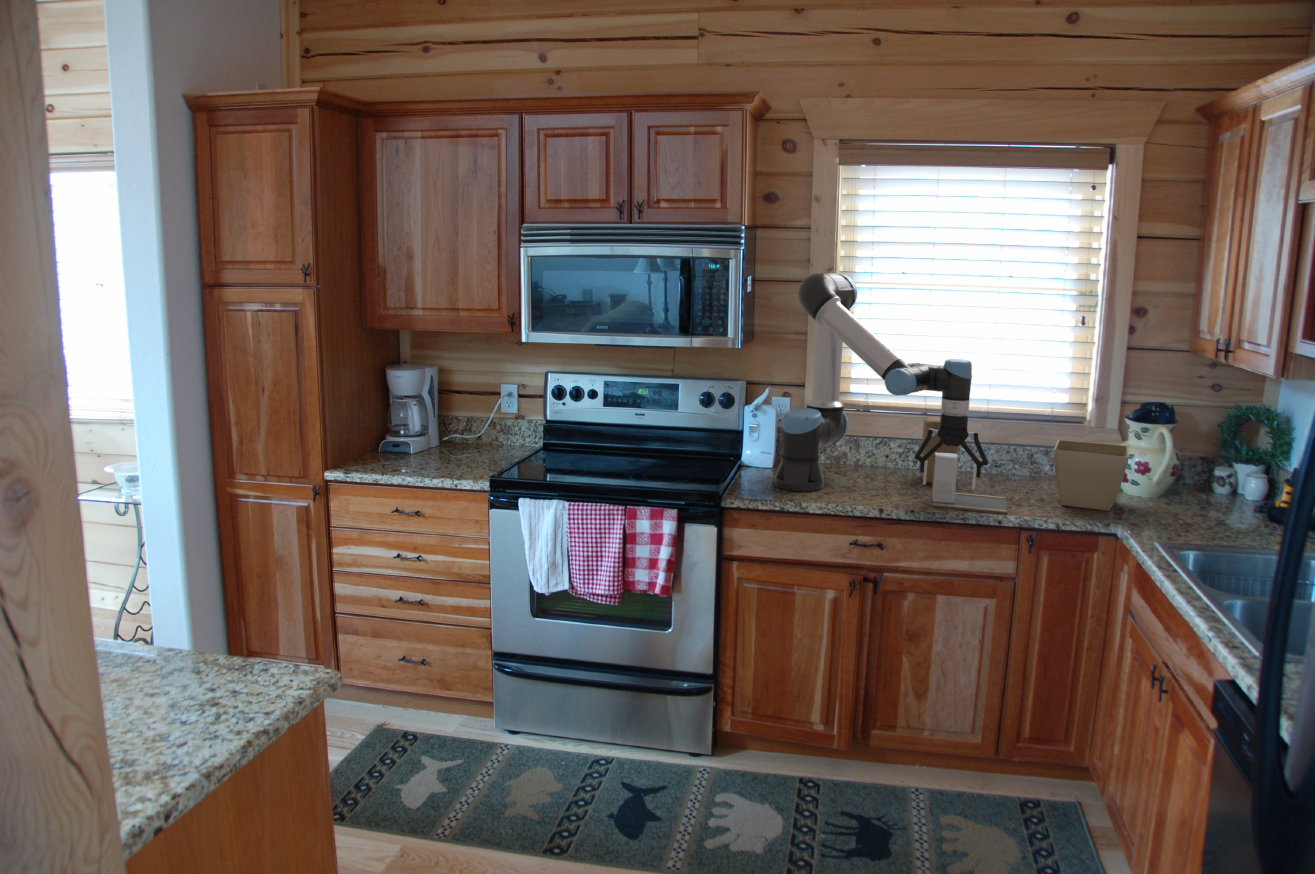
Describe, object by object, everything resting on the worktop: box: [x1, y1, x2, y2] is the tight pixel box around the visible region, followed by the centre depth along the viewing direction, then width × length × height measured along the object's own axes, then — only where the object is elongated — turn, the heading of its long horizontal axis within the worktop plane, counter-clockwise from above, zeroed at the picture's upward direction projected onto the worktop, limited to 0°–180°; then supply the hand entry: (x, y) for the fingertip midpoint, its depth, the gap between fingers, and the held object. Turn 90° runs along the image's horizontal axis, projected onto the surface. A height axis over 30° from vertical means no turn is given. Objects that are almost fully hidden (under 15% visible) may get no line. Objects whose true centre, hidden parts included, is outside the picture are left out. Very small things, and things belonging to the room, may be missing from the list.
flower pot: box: [1053, 439, 1130, 512], centre depth 257 cm, size 19×19×17 cm
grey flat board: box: [931, 492, 1008, 515], centre depth 257 cm, size 20×16×1 cm
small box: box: [931, 453, 959, 503], centre depth 258 cm, size 8×6×13 cm
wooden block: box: [919, 415, 959, 484], centre depth 283 cm, size 10×10×20 cm
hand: (948, 485), depth 258 cm, fingers open, 13 cm apart
